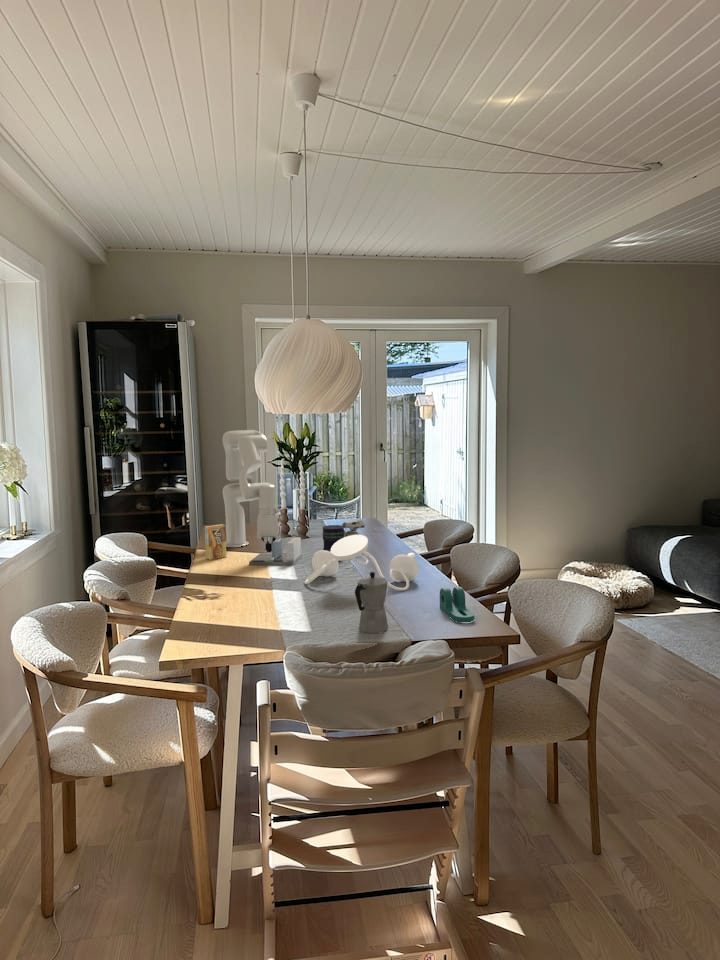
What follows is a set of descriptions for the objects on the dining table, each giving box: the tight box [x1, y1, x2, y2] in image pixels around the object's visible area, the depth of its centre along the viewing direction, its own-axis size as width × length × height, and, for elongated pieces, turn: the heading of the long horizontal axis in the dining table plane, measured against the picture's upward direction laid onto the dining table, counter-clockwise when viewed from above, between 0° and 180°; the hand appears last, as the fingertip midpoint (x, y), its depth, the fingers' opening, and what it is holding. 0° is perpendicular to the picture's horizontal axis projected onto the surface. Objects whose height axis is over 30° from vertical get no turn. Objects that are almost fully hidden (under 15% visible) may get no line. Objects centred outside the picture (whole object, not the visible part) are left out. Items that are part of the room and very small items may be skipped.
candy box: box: [204, 523, 227, 561], centre depth 318 cm, size 9×4×15 cm, turn 129°
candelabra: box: [304, 534, 419, 592], centre depth 268 cm, size 20×45×37 cm
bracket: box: [439, 586, 475, 622], centre depth 223 cm, size 18×7×8 cm, turn 11°
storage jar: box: [322, 524, 345, 552], centre depth 310 cm, size 10×10×15 cm
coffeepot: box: [354, 571, 389, 634], centre depth 210 cm, size 15×9×18 cm, turn 144°
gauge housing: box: [248, 536, 303, 566], centre depth 310 cm, size 18×20×10 cm
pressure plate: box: [271, 538, 283, 560], centre depth 308 cm, size 14×2×7 cm, turn 172°
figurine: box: [341, 519, 366, 537], centre depth 326 cm, size 9×12×15 cm
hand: (269, 551), depth 310 cm, fingers closed
